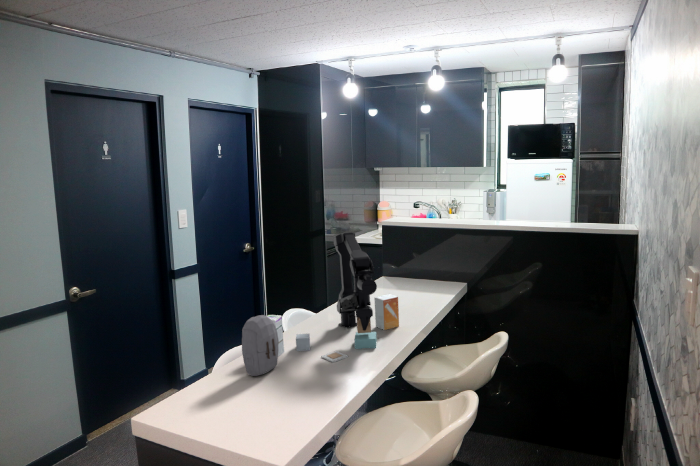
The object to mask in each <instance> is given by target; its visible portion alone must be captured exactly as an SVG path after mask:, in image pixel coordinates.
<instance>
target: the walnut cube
mask: <svg viewBox="0 0 700 466" xmlns="http://www.w3.org/2000/svg"><path fill="white" fill-rule="evenodd" d="M356 323H357V325H356V329H357V331H356V332H358V333H371V332H372V324H371V320H370V321H369V323H368V326H367V329H366V330H364V331H363V328H362V324H361V320H360V318H359V317H356Z"/></svg>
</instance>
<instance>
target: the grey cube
mask: <svg viewBox="0 0 700 466" xmlns="http://www.w3.org/2000/svg"><path fill="white" fill-rule="evenodd" d="M295 346H296V352H304V351H311V338H310V333H308V332H307V333H297V334H296V336H295Z"/></svg>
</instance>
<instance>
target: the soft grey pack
mask: <svg viewBox="0 0 700 466" xmlns="http://www.w3.org/2000/svg"><path fill="white" fill-rule="evenodd" d="M241 331H242V332H241V352H242V358H243V364H244V366H245V371H246V373H247V374H248V376H249V375H250V376H252V377H253V376H254V377H255V376H257V377H258V376H261V375H265V374H266V373H268V372H270V371H272V370H273V369H274V368H276V366H277V365H278V360H279V359H278V358H279V357H278V342H279V340H278V334H277V330H276V327H275V324H274V322H273V321H272V320H271V319H270V318H268V317H267V315H265V314H261V315H256V316H252V317H250V318H249V319H247V320H246V322H245V323H244V325H243V327H242V330H241Z"/></svg>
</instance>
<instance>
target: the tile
mask: <svg viewBox="0 0 700 466" xmlns="http://www.w3.org/2000/svg"><path fill="white" fill-rule="evenodd" d="M348 357H349V356H348V355H347V354H345V353H342V352H340V351H338V350H335V351H333V352H329V353H326V354H323V355H321V359H325V360H327V361H328V362H331V363H336V362H339V361H341V360H344V359H347V358H348Z"/></svg>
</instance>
